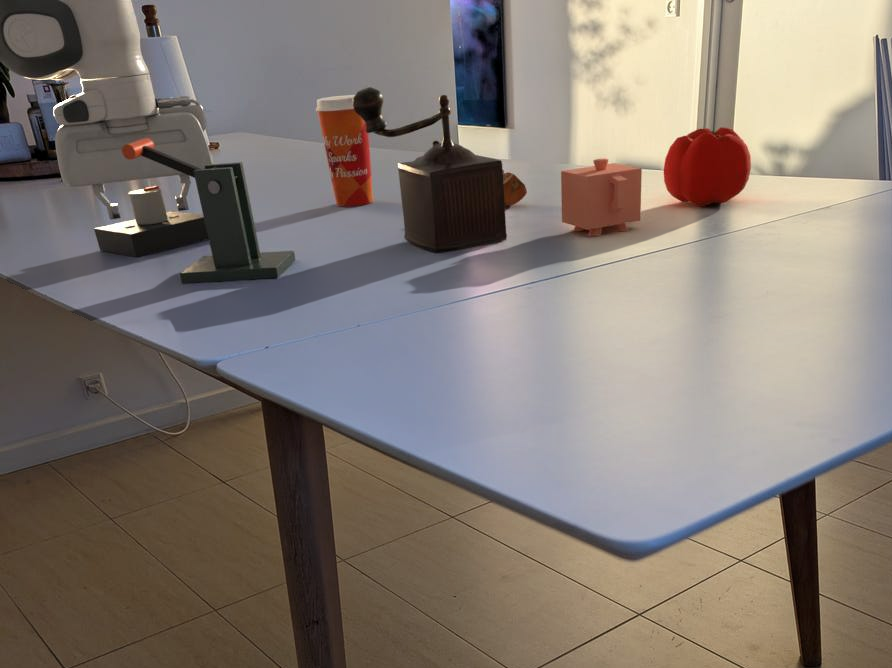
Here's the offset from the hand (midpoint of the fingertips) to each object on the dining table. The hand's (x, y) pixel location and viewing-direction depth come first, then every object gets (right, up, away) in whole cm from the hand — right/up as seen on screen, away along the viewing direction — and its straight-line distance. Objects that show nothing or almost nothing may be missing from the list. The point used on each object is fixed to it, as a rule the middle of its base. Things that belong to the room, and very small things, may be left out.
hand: (149, 214), depth 130 cm
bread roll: (+51, +4, +7) cm, 51 cm away
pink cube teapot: (+63, -7, -10) cm, 64 cm away
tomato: (+79, +1, -1) cm, 79 cm away
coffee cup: (+27, +11, +20) cm, 35 cm away
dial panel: (0, -3, +2) cm, 4 cm away
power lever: (+12, -6, -22) cm, 25 cm away
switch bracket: (+17, -15, -16) cm, 28 cm away
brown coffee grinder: (+41, -9, -11) cm, 44 cm away
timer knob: (0, -1, +1) cm, 1 cm away
